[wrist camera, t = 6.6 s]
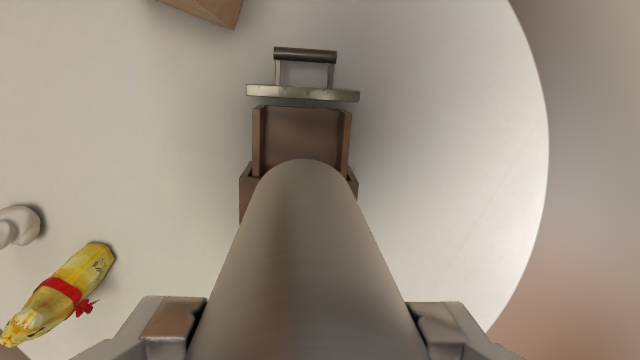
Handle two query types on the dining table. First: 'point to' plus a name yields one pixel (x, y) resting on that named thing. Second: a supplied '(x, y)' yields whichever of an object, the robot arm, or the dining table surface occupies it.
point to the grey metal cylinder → (305, 279)
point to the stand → (210, 10)
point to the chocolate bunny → (60, 295)
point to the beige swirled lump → (18, 226)
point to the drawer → (301, 119)
